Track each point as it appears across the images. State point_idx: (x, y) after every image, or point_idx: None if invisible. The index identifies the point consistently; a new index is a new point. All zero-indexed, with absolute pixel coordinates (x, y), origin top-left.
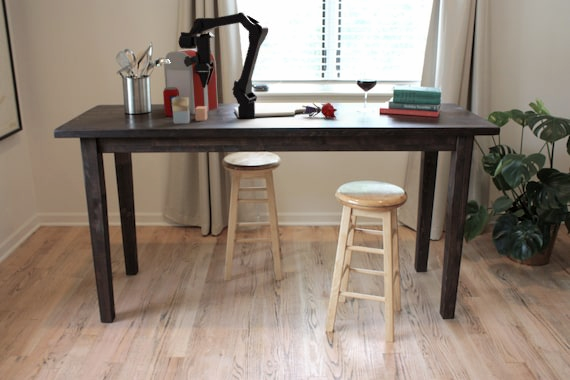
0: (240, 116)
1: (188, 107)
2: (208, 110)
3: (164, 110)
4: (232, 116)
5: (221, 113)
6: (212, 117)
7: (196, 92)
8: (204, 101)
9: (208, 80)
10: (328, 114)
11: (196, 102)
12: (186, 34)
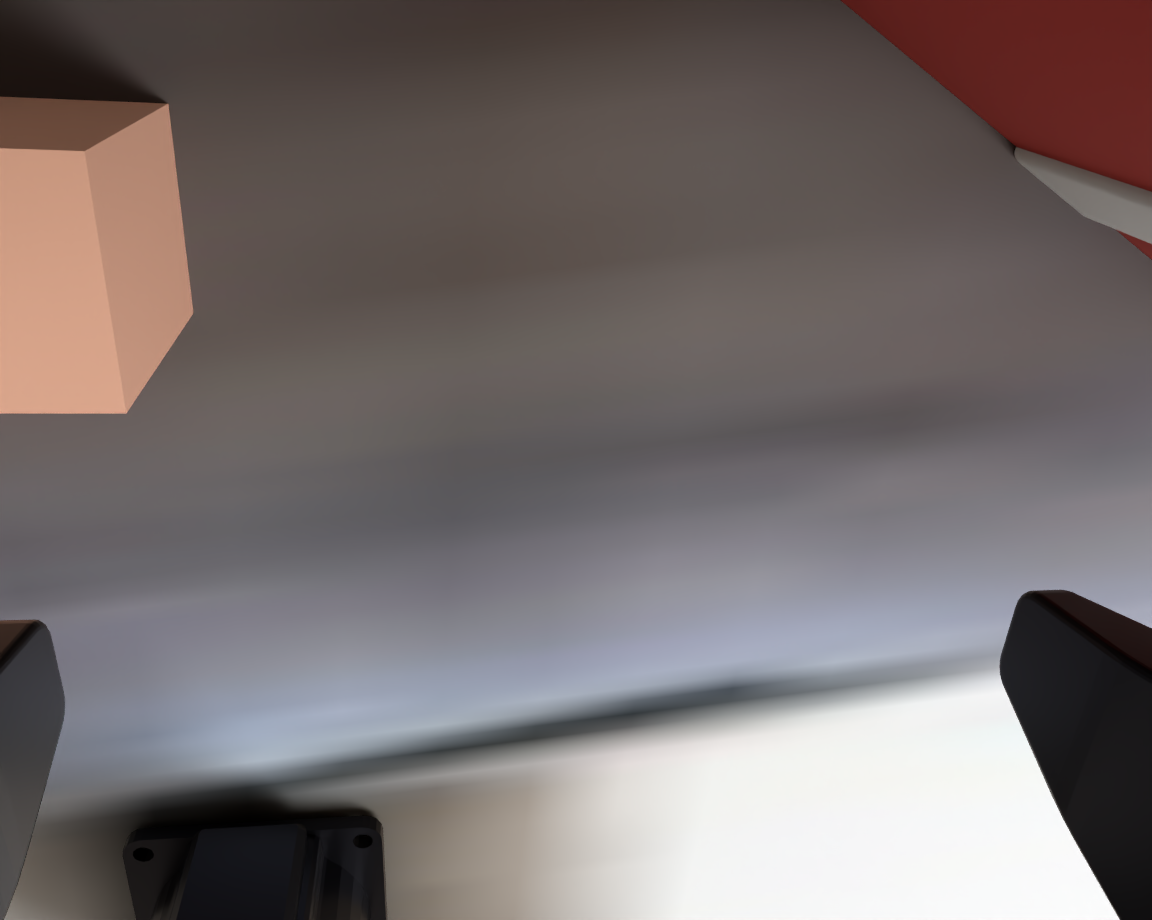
0: (183, 854)
1: None
2: (1092, 218)
3: None
4: (362, 707)
5: (690, 504)
6: (250, 403)
7: (1147, 40)
8: (1149, 202)
9: (1105, 829)
10: None
11: (940, 2)
12: None
